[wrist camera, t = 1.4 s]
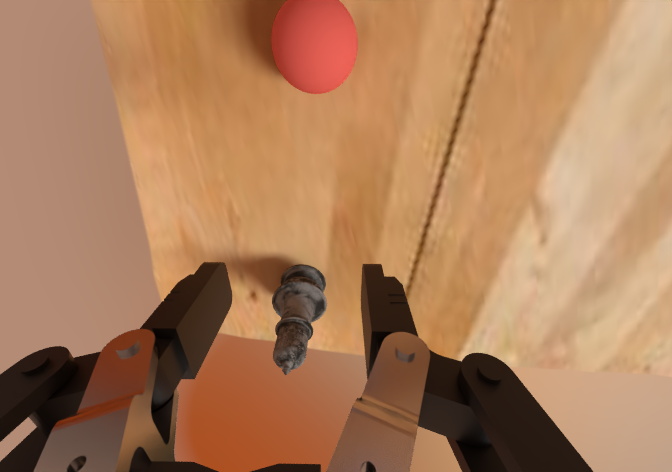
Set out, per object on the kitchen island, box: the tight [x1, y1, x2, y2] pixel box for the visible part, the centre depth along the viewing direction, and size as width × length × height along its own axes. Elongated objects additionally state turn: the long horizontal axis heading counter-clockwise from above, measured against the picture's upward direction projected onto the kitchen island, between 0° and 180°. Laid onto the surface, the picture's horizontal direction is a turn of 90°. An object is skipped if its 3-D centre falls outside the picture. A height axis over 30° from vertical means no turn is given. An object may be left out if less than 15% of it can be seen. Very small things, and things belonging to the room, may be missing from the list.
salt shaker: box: [272, 265, 327, 375], centre depth 28 cm, size 6×6×12 cm
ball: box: [271, 0, 358, 94], centre depth 20 cm, size 6×6×6 cm
